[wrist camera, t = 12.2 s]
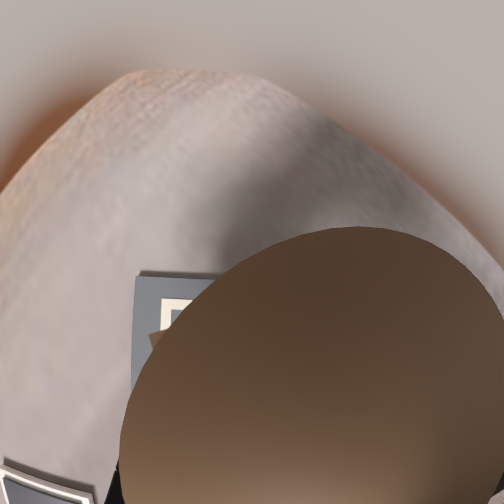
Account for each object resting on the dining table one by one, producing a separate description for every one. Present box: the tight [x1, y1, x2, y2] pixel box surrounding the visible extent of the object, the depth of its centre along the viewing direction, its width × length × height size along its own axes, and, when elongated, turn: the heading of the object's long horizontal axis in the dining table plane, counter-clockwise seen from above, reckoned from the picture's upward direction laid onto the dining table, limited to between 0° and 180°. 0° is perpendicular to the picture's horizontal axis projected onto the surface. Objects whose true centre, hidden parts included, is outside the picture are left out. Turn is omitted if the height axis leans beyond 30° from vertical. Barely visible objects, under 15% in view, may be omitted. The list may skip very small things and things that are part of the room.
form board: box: [131, 276, 215, 393], centre depth 20 cm, size 13×12×1 cm
